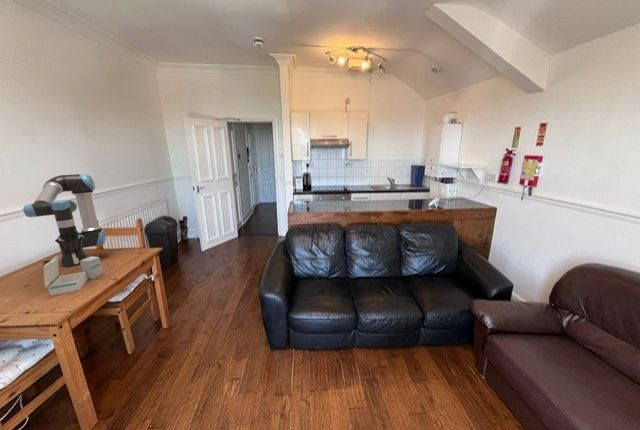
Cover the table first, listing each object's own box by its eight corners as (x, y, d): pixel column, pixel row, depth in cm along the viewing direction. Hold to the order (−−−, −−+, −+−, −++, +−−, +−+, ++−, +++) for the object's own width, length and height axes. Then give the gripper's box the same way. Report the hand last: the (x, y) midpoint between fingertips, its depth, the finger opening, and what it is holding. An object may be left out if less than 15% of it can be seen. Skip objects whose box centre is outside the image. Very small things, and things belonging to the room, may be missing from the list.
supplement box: (92, 279, 172) (88, 261, 168) (83, 278, 173) (78, 260, 170) (103, 273, 179) (99, 256, 175) (95, 273, 180) (90, 256, 177)
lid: (62, 274, 166) (57, 274, 165) (61, 255, 164) (56, 255, 163) (49, 287, 151) (44, 287, 150) (48, 266, 149) (43, 266, 148)
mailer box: (61, 283, 167) (59, 276, 165) (87, 278, 172) (85, 271, 171) (50, 296, 153) (48, 287, 151) (79, 290, 158) (77, 282, 157)
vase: (63, 279, 171) (57, 259, 168) (51, 284, 166) (44, 263, 162) (57, 278, 173) (51, 258, 169) (45, 283, 168) (38, 262, 164)
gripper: (49, 229, 149) (60, 267, 155) (78, 226, 155) (88, 263, 161) (54, 226, 156) (65, 262, 162) (82, 223, 161) (92, 258, 167)
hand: (76, 263), depth 161 cm, fingers closed
